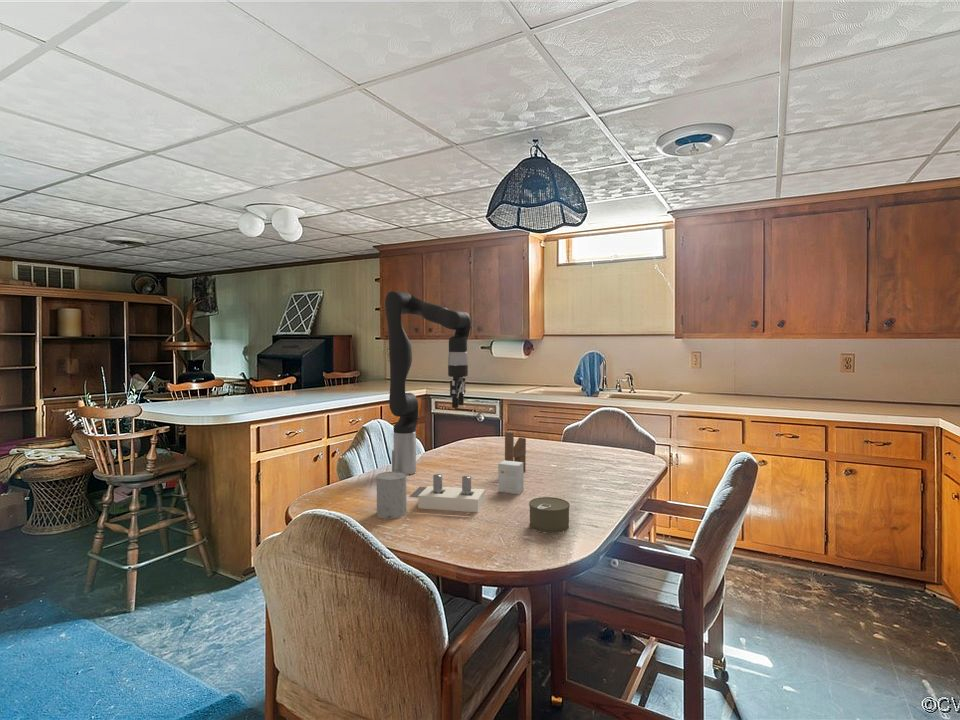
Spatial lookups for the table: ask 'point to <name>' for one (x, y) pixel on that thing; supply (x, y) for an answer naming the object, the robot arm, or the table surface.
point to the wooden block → (515, 449)
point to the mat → (417, 492)
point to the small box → (510, 477)
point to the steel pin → (437, 483)
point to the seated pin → (466, 485)
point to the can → (549, 514)
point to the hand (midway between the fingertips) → (458, 406)
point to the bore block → (452, 499)
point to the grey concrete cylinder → (391, 495)
